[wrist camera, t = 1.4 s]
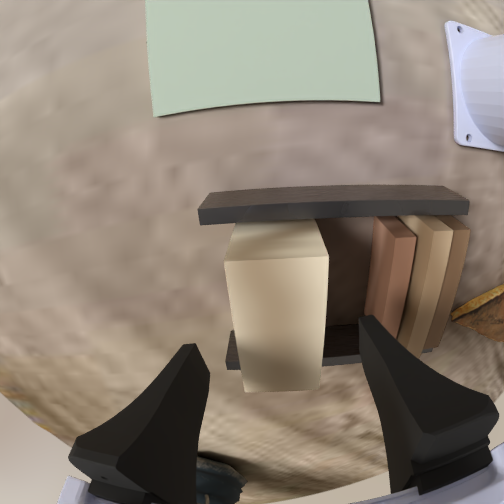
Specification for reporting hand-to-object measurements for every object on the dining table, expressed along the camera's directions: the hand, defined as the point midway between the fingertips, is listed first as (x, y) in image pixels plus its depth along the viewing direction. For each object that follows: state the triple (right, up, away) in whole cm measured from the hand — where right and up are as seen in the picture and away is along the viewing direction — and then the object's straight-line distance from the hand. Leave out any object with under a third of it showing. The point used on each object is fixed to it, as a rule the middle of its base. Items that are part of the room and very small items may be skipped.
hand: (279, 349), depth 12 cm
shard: (+21, -1, +7) cm, 22 cm away
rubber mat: (-1, +21, -3) cm, 21 cm away
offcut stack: (+8, +3, +5) cm, 11 cm away
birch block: (0, +3, +6) cm, 7 cm away
